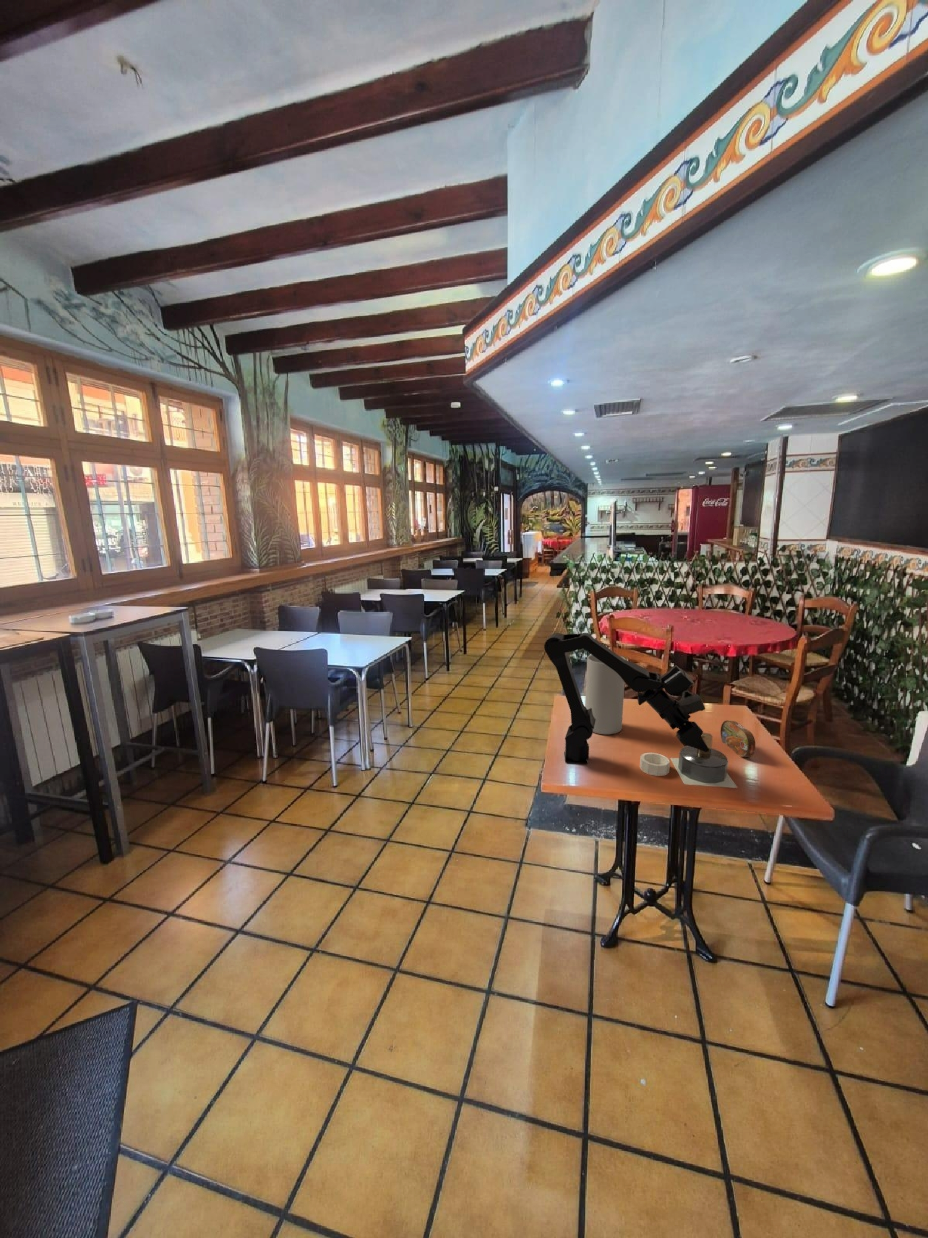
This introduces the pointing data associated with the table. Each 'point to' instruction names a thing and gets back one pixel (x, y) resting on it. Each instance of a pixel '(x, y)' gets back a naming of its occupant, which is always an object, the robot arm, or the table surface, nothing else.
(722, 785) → the mat
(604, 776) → the table surface
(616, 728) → the cylinder vase
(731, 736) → the tin
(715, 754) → the cloche
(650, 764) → the bowl
